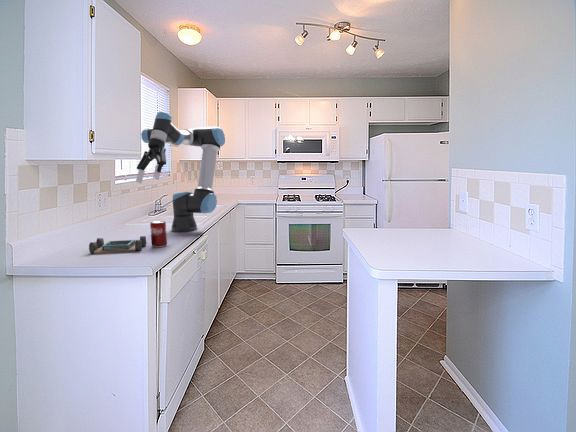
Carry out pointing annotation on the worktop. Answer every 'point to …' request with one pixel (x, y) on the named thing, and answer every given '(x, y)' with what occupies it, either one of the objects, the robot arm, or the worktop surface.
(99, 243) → the chassis
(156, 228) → the soda can
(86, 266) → the worktop surface
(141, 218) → the worktop surface
